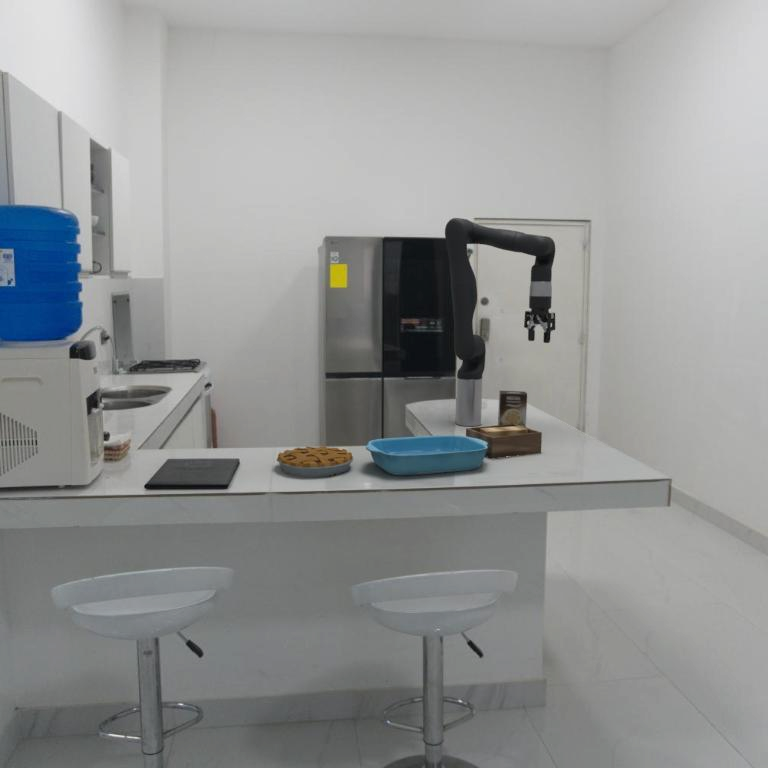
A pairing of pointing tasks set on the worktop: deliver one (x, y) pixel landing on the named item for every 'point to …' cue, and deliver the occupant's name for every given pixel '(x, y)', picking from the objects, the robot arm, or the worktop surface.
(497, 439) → the wooden box
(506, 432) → the tan flat block
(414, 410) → the worktop surface
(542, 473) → the worktop surface
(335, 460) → the pie
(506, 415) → the coffee box
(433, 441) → the casserole dish
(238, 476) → the worktop surface
